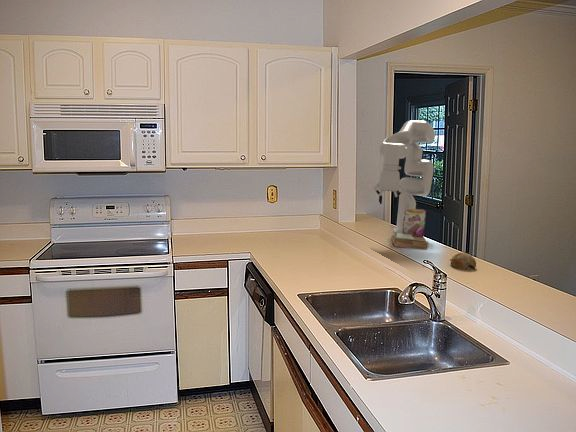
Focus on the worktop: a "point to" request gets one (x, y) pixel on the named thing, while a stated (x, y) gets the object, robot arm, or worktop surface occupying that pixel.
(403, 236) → the lid
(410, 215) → the candy bar box
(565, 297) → the worktop surface
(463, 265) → the bread roll
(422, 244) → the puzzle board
